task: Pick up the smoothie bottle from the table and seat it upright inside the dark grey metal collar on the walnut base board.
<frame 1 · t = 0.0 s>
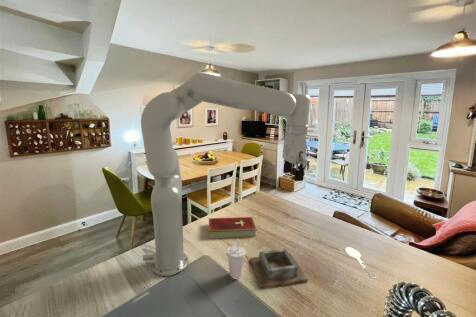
hand: (292, 176, 87), 31 cm above the table, tool pointing down, fingers open, 9 cm apart
hardcover book: (231, 231, 108), on the table
holder: (277, 270, 83), on the table
spoon: (359, 262, 89), on the table
smoothie: (235, 276, 80), on the table
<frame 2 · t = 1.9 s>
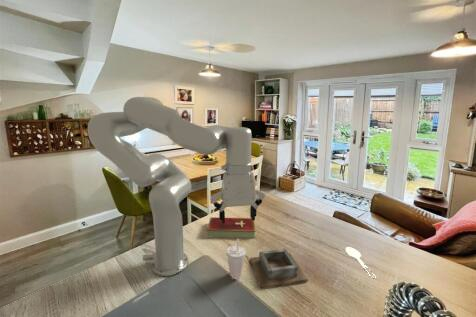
hand: (237, 220, 75), 21 cm above the table, tool pointing down, fingers open, 9 cm apart
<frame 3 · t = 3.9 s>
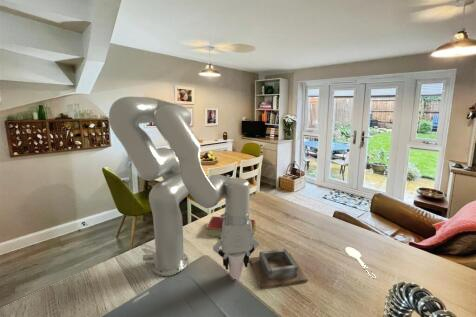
hand: (235, 265, 79), 4 cm above the table, tool pointing down, fingers closed on smoothie, 5 cm apart
smoothie: (235, 276, 80), on the table, touching gripper
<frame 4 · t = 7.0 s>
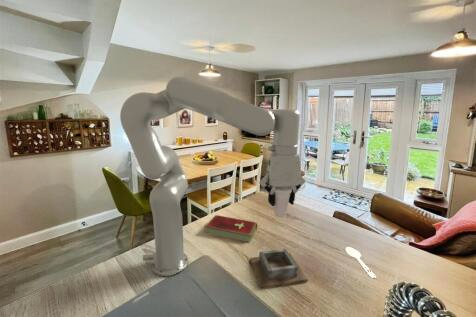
hand: (281, 203, 77), 26 cm above the table, tool pointing down, fingers closed on smoothie, 5 cm apart
smoothie: (280, 215, 78), point 21 cm above the table, touching gripper
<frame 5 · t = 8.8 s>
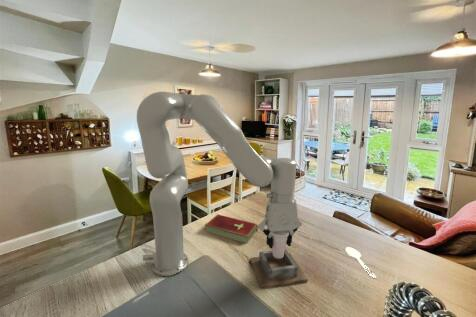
hand: (278, 244, 81), 10 cm above the table, tool pointing down, fingers closed on smoothie, 5 cm apart
smoothie: (278, 255, 82), point 6 cm above the table, touching gripper
when the fingers open (6 cm above the table, at t = 10.1 s): smoothie stays where it is, resting on holder.
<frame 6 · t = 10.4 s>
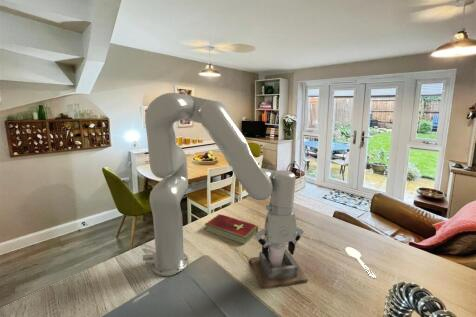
hand: (278, 253, 81), 7 cm above the table, tool pointing down, fingers open, 9 cm apart
smoothie: (275, 268, 83), point 1 cm above the table, touching holder
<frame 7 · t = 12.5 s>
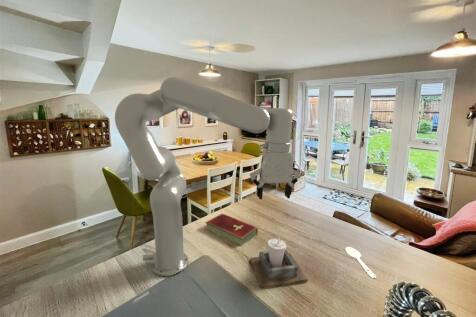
hand: (273, 197, 79), 27 cm above the table, tool pointing down, fingers open, 9 cm apart
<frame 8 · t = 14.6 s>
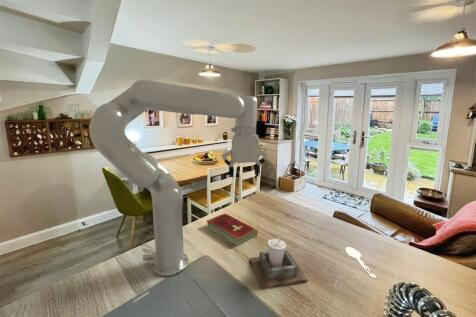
hand: (244, 175, 89), 30 cm above the table, tool pointing down, fingers open, 9 cm apart
at the end: smoothie 0.7 cm off-centre on the holder, point 0.8 cm above the holder's base; smoothie tilted 0°; the gripper is holding nothing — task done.
